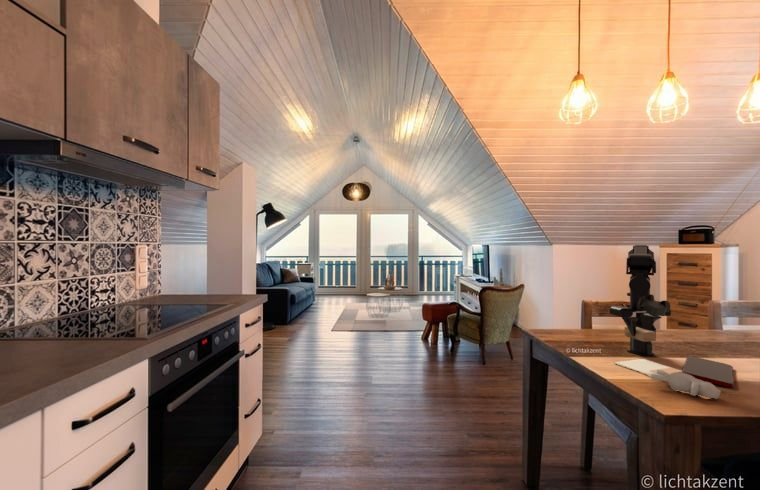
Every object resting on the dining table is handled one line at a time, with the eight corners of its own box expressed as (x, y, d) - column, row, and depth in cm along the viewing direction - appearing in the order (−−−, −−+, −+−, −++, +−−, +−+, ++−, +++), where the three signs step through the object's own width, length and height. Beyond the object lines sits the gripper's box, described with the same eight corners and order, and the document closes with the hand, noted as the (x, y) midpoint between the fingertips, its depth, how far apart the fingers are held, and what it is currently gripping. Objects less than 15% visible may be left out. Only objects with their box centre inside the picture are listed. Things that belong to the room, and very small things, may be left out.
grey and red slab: (733, 364, 125) (734, 384, 107) (732, 369, 125) (733, 389, 107) (687, 354, 133) (680, 371, 115) (686, 358, 133) (680, 375, 115)
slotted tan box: (624, 335, 128) (624, 326, 128) (635, 335, 129) (636, 326, 129) (643, 341, 120) (643, 332, 120) (655, 341, 121) (655, 331, 121)
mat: (614, 364, 130) (614, 362, 130) (643, 360, 133) (643, 358, 133) (663, 381, 113) (663, 379, 113) (694, 376, 117) (694, 374, 117)
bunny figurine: (716, 391, 96) (649, 369, 108) (713, 409, 97) (647, 385, 109) (723, 382, 102) (659, 362, 114) (720, 399, 103) (657, 378, 115)
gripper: (634, 294, 115) (634, 343, 115) (686, 293, 118) (686, 341, 118) (608, 290, 126) (608, 334, 126) (656, 289, 129) (656, 332, 129)
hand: (639, 335), depth 125 cm, fingers closed on slotted tan box, 4 cm apart
